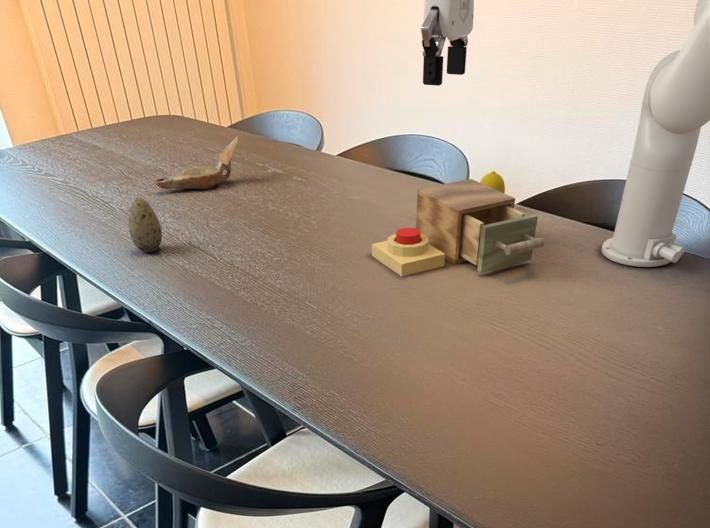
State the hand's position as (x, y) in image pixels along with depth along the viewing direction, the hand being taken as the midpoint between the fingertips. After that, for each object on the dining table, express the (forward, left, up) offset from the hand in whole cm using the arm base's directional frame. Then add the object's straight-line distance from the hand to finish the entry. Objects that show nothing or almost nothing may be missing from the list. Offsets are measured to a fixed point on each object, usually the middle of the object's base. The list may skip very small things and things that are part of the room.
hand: (444, 79), depth 113 cm
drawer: (-15, -3, -26) cm, 30 cm away
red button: (-5, +10, -24) cm, 26 cm away
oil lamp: (+59, +29, -28) cm, 71 cm away
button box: (-5, +10, -27) cm, 30 cm away
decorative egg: (+25, +50, -28) cm, 62 cm away
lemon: (+9, -19, -28) cm, 35 cm away
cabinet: (-4, -3, -27) cm, 28 cm away
